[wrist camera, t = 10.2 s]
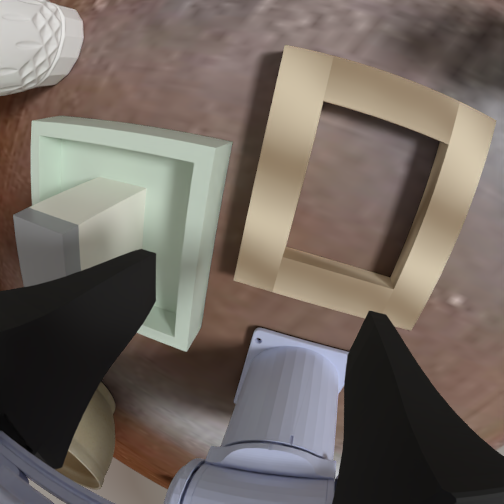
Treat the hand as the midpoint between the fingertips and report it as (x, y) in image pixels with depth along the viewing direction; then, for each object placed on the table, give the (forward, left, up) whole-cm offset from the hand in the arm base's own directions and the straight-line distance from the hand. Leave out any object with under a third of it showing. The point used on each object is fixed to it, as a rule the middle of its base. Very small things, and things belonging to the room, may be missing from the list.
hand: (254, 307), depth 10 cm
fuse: (-4, +11, -9) cm, 15 cm away
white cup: (+9, +20, -10) cm, 24 cm away
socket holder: (+2, -4, -10) cm, 11 cm away
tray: (-4, +11, -10) cm, 15 cm away
